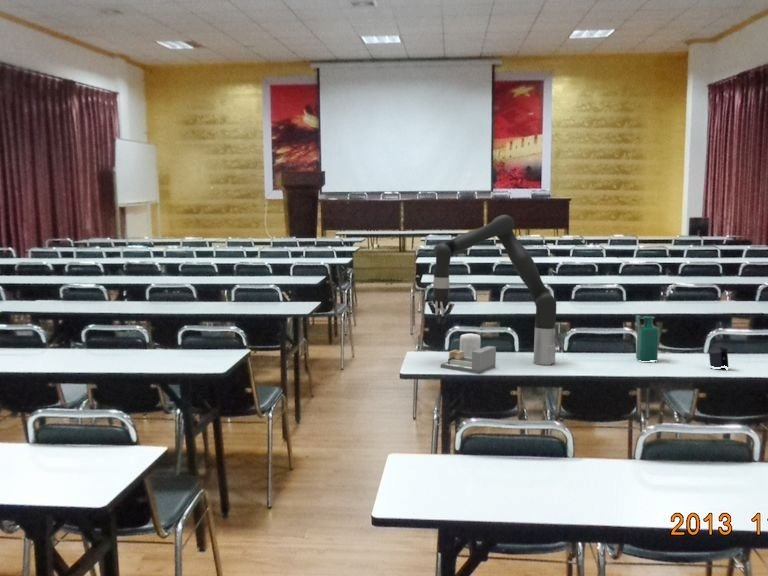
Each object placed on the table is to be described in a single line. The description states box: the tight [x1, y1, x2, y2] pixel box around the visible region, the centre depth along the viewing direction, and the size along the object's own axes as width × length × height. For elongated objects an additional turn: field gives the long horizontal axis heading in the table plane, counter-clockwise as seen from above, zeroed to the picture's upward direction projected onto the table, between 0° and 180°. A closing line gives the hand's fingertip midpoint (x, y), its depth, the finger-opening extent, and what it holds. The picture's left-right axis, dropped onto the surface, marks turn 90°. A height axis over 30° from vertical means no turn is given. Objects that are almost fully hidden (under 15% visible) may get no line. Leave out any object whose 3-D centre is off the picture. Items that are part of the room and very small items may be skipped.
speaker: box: [708, 346, 729, 367], centre depth 328 cm, size 8×6×10 cm
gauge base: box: [440, 345, 497, 375], centre depth 326 cm, size 20×16×10 cm
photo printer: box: [459, 333, 481, 358], centre depth 344 cm, size 10×4×12 cm, turn 98°
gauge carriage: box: [447, 349, 465, 364], centre depth 327 cm, size 5×11×5 cm, turn 146°
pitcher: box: [635, 314, 660, 361], centre depth 343 cm, size 10×8×22 cm
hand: (440, 323), depth 333 cm, fingers closed
